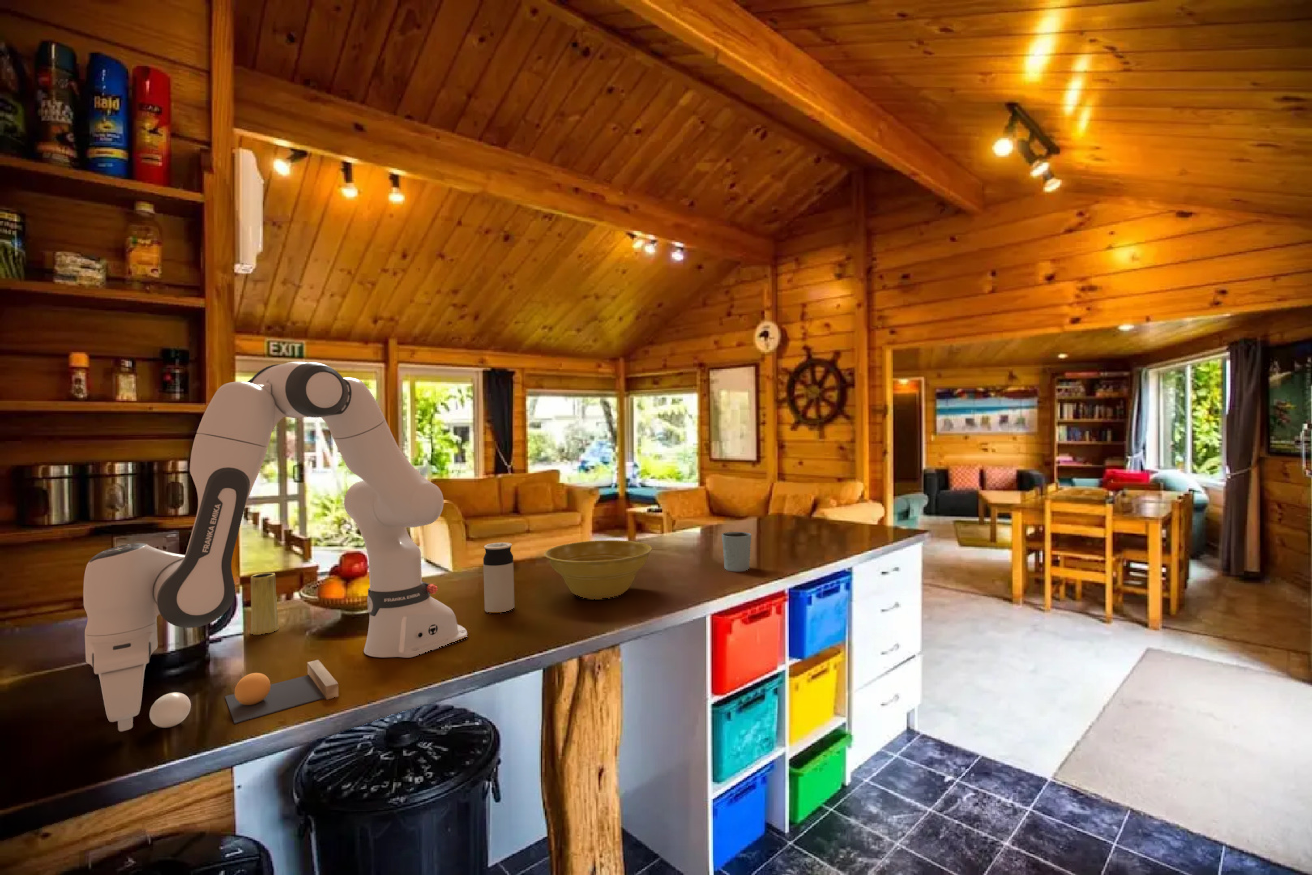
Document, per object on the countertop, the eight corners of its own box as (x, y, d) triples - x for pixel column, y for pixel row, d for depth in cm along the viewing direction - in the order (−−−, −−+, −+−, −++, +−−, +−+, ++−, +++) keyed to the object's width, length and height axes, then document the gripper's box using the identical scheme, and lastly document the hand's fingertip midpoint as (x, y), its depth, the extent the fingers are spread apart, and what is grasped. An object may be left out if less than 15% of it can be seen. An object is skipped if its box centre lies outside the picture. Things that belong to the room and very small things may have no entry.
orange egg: (225, 690, 109) (251, 704, 112) (228, 700, 105) (255, 714, 108) (250, 663, 112) (274, 678, 115) (254, 672, 108) (280, 687, 110)
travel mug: (499, 616, 159) (497, 548, 158) (478, 611, 163) (476, 546, 163) (520, 607, 166) (518, 543, 165) (500, 604, 170) (498, 541, 169)
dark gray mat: (308, 675, 122) (308, 674, 122) (325, 697, 112) (325, 696, 112) (225, 697, 113) (225, 696, 113) (234, 723, 102) (234, 722, 102)
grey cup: (719, 571, 203) (718, 536, 202) (725, 564, 212) (725, 530, 212) (749, 572, 199) (748, 537, 199) (754, 565, 209) (753, 531, 209)
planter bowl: (545, 583, 191) (544, 542, 191) (644, 577, 197) (643, 536, 197) (545, 614, 159) (543, 564, 159) (662, 605, 165) (661, 557, 165)
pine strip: (318, 671, 124) (318, 659, 124) (338, 696, 112) (338, 683, 112) (307, 674, 123) (307, 662, 123) (326, 699, 111) (326, 686, 111)
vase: (269, 634, 148) (267, 577, 148) (244, 635, 148) (242, 578, 147) (284, 626, 154) (282, 571, 154) (260, 627, 154) (258, 572, 154)
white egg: (144, 698, 102) (154, 727, 103) (145, 708, 98) (155, 738, 99) (184, 682, 106) (193, 710, 106) (186, 692, 101) (196, 721, 102)
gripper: (98, 633, 104) (101, 711, 104) (93, 667, 88) (96, 759, 89) (146, 624, 108) (149, 700, 108) (148, 655, 93) (152, 743, 93)
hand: (125, 727), depth 98 cm, fingers closed
